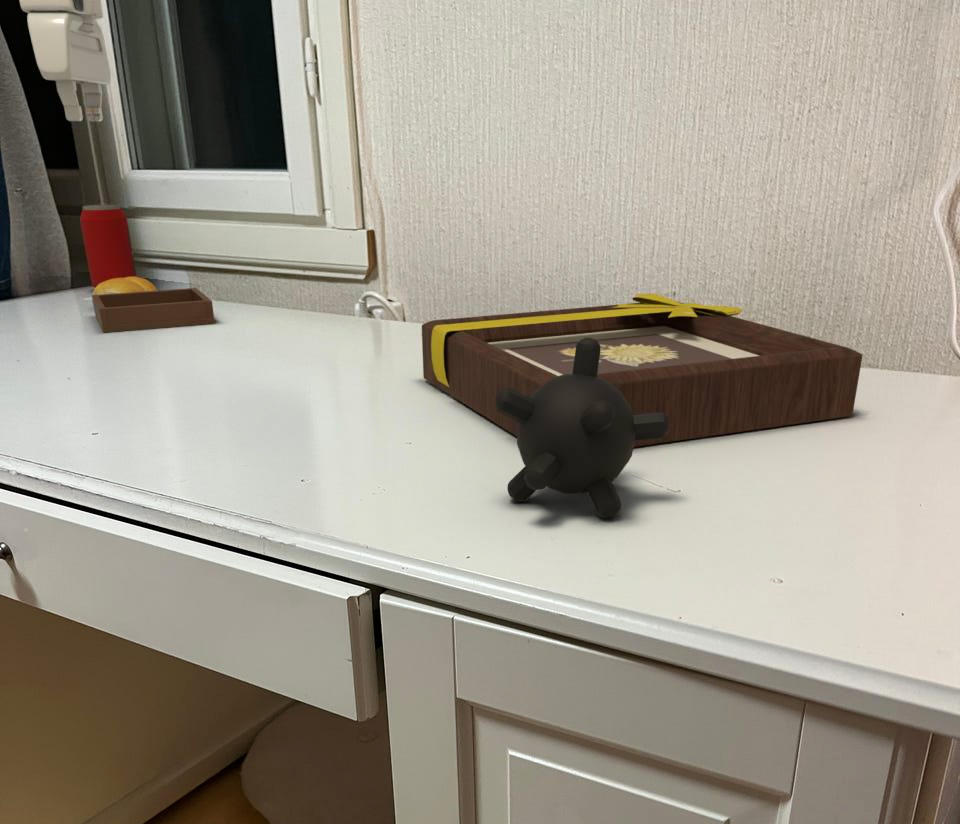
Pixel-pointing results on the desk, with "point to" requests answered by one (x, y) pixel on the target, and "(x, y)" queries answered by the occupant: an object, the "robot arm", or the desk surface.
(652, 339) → the brown gift box
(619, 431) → the naval mine
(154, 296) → the serving tray
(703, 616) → the desk surface
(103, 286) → the bread roll
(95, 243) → the beverage can
